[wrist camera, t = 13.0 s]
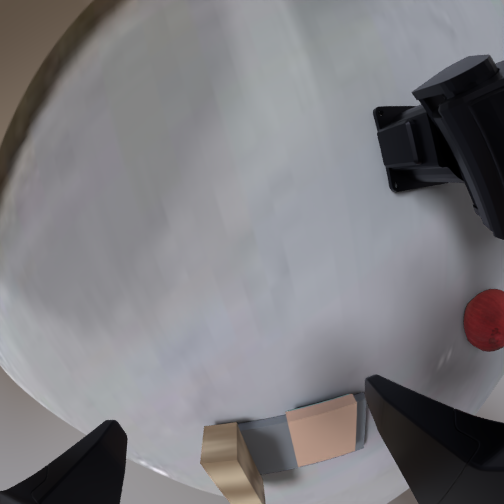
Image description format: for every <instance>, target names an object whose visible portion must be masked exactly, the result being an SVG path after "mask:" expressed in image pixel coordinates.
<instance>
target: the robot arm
mask: <svg viewBox="0 0 504 504" xmlns="http://www.w3.org/2000/svg"><path fill="white" fill-rule="evenodd" d="M412 94H413V95H414V97H415V98H416V100H419V101H420V103H421V105H419V106H384V107H377V108H375V109H374V110H373V115H374V119H375V123H376V127H377V130H378V133H377V136H378V140H379V144H380V148H381V153H382V158H383V162H384V165H385V166H386V171H387V176H388V182H389V187H390V189H391V190H392V191H394V192H399V191H405V190H410V189H416V188H421V187H427V186H433V185H439V184H444V183H449V182H459V183H465V185H466V187H467V189H468V191H469V194H470V196H471V199H472V201H473V204H474V205H473V207H474V210H475V212H476V214H478V215H479V216H480V217H481V219H482V221H483V224H484V225H486V226H487V227H488V228H489V229H490V230H491V231H493V234H494V236H495V237H497V238H500V239H503V240H504V61H501V62H498V63H496V64H495V63H494V61H493V59H492V58H491V56H490V55H477V56H468V57H466V58H464V59H462V60H460V61H458V62H456V63H454V64H452V65H451V66H449V67H447V68H445V69H444V70H442V71H441V72H439V73H438V74H437V75H435V76H434V77H432V78H431V79H429V80H428V81H427V82H425V83H424V84H422V85H421V86H420V87H418V88H417V89H415V90H414V91H413V92H412ZM378 111H380V112H381V114H382V116H380V115H379V113H378ZM395 182H396V183H397V188H396V187H395ZM365 399H366V402H367V404H368V406H369V409H370V411H371V414H372V416H373V419H374V421H375V424H376V426H377V429H378V431H379V433H380V435H381V437H382V439H383V441H384V442H385V444H386V446H387V448H388V449H389V451H390V453H391V455H392V457H393V458H394V460H395V462H396V464H397V465H398V467H399V469H400V471H401V473H402V474H403V476H404V478H405V480H406V482H407V483H408V485H409V487H410V489H411V491H412V492H413V494H414V496H415V498H416V500H417V502H418V503H419V504H504V423H502V422H497V421H493V420H488V419H484V418H481V417H477V416H474V415H471V414H468V413H465V412H463V411H460V410H458V409H454V408H452V407H450V406H448V405H445V404H443V403H440V402H438V401H436V400H433V399H431V398H428V397H426V396H424V395H422V394H419V393H417V392H415V391H412V390H410V389H408V388H406V387H403V386H401V385H399V384H397V383H395V382H392V381H390V380H388V379H386V378H384V377H382V376H380V375H377V374H376V375H373V376H370V377H367V378H366V379H365ZM126 451H127V435H126V433H125V432H124V430H123V429H122V427H121V426H120V424H119V423H118V422H117V421H116V420H106V421H104V422H103V423H102V424H101V425H99V426H98V427H97V428H96V429H94V430H93V431H92V432H90V433H89V434H88V435H87V436H85V437H84V438H83V439H81V440H80V441H79V442H77V443H76V444H75V445H74V446H72V447H71V448H70V449H68V450H67V451H66V452H64V453H63V454H62V455H60V456H59V457H58V458H56V459H55V460H54V461H52V462H51V463H49V464H48V465H47V466H45V467H44V468H43V469H41V470H40V471H38V472H37V473H35V474H34V475H32V476H31V477H29V478H27V479H26V480H24V481H22V482H20V483H18V484H17V485H15V486H13V487H11V488H9V489H7V490H4V491H0V504H120V497H121V492H122V486H123V480H124V474H125V465H126Z"/></svg>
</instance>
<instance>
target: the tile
mask: <svg viewBox="0 0 504 504" xmlns="http://www.w3.org/2000/svg"><path fill="white" fill-rule="evenodd" d="M285 413H286V417H287V422H288V426H289V430H290V434H291V439H292V443H293V447H294V451H295V456H296V460H297V464H298V467H300V466H304V465H308V464H312V463H316V462H320V461H324V460H327V459H331V458H334V457H338V456H341V455H344V454H347V453H350V452H353V451H355V444H356V421H357V402H356V400H355V398H354V396H353V394H346V395H343V396H340V397H337V398H334V399H330V400H327V401H323V402H320V403H316V404H313V405H309V406H305V407H301V408H297V409H293V410H288V412H285Z"/></svg>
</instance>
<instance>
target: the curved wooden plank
mask: <svg viewBox="0 0 504 504" xmlns="http://www.w3.org/2000/svg"><path fill="white" fill-rule="evenodd" d="M200 464H201V465H202V467H203V468H204V469H205V471H206V472H207V474H208V475H209V476H210V478H211V479H212V480H213V482H214V483H215V484H216V486H217V487H218V488H219V490H220V491H221V492H222V493H223V495H224V496H225V497H226V498H227V500H228V501H229V502H230V503H231V504H266V503H265V494H264V485H263V480H262V478H261V475H260V473H259V471H258V469H257V467H256V465H255V463H254V461H253V459H252V456H251V454H250V452H249V450H248V448H247V445H246V443H245V441H244V439H243V436H242V434H241V432H240V429H239V427H238V425H237V422H234V423H227V424H220V425H211V426H204V433H203V442H202V451H201V461H200Z"/></svg>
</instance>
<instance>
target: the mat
mask: <svg viewBox="0 0 504 504" xmlns="http://www.w3.org/2000/svg"><path fill="white" fill-rule="evenodd" d="M353 396H354V398H355V400H356V402H357V421H356V444H355V451H357V450H360V449H363V448H364V437H365V421H366V399H365V395H364V394H363V392H362V393H359V394H356V395H353ZM237 425H238V427H239V429H240V432H241V434H242V436H243V439H244V441H245V443H246V445H247V448H248V450H249V452H250V454H251V456H252V459H253V461H254V463H255V465H256V467H257V469H258V471H259V473H260V475H262V474H268V473H274V472H279V471H284V470H289V469H294V468H298V464H297V460H296V456H295V451H294V447H293V443H292V439H291V434H290V430H289V426H288V422H287V417H286V415H282V416H278V417H273V418H268V419H263V420H258V421H252V422H246V423H240V424H237ZM353 452H354V451H353ZM350 453H351V452H350ZM347 454H348V453H347ZM344 455H345V454H344ZM341 456H342V455H341ZM338 457H339V456H338ZM334 458H336V457H334ZM331 459H332V458H331ZM327 460H329V459H327ZM324 461H326V460H324ZM320 462H322V461H320ZM316 463H318V462H316ZM312 464H315V463H312ZM308 465H311V464H308ZM304 466H307V465H304ZM300 467H303V466H300Z"/></svg>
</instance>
